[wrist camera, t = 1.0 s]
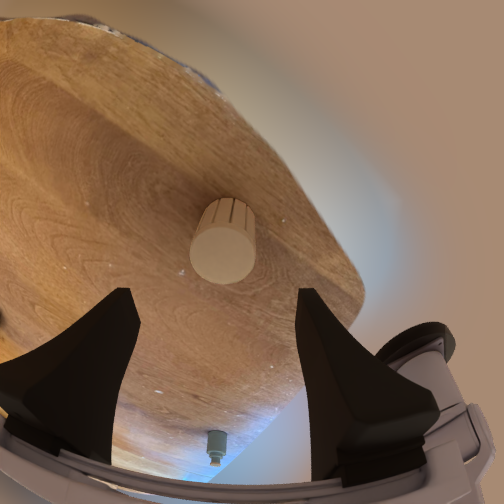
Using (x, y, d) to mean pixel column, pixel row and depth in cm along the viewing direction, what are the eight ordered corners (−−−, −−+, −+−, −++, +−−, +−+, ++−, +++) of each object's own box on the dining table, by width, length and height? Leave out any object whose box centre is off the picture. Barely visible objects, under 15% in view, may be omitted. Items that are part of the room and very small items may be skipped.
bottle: (230, 435, 36) (229, 466, 32) (215, 438, 37) (213, 468, 32) (219, 429, 35) (217, 462, 30) (204, 432, 36) (201, 463, 31)
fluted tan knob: (265, 231, 19) (268, 267, 16) (221, 254, 20) (213, 293, 16) (236, 187, 18) (232, 214, 14) (191, 214, 19) (175, 247, 15)
